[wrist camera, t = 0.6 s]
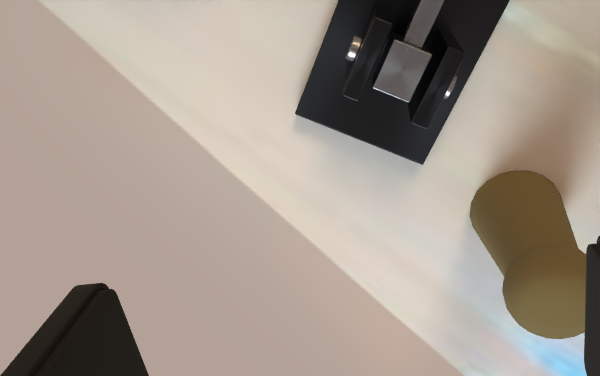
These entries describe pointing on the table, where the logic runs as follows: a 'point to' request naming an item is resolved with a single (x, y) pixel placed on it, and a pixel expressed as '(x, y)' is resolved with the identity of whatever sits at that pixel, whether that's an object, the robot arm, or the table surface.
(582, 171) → the table surface
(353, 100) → the bracket
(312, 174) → the table surface
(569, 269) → the cork
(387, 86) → the lever
